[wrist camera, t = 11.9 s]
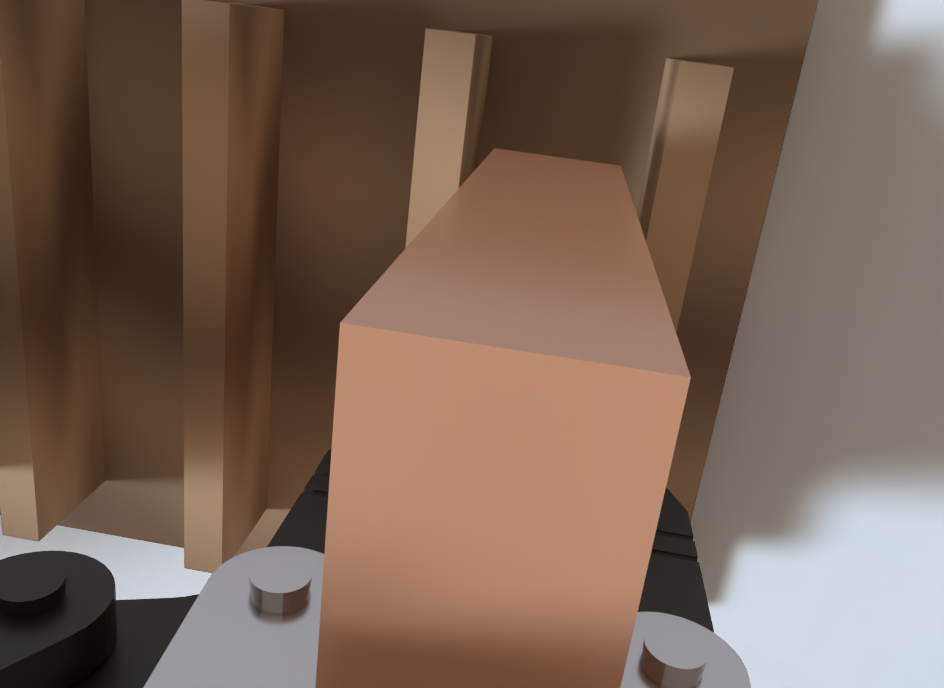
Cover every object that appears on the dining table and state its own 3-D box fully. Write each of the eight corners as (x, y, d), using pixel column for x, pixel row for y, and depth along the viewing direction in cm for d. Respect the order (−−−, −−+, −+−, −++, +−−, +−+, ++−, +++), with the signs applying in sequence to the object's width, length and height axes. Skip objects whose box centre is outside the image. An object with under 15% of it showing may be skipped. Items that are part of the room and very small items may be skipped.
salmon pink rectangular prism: (494, 148, 13) (339, 321, 5) (620, 165, 13) (691, 376, 5) (441, 571, 16) (283, 1154, 8) (544, 590, 16) (502, 1207, 7)
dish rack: (-182, -129, 17) (-381, -173, 14) (805, -11, 16) (869, -27, 12) (-98, 467, 22) (-229, 548, 19) (658, 601, 21) (673, 718, 17)
